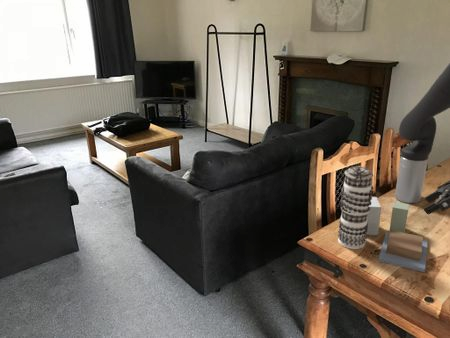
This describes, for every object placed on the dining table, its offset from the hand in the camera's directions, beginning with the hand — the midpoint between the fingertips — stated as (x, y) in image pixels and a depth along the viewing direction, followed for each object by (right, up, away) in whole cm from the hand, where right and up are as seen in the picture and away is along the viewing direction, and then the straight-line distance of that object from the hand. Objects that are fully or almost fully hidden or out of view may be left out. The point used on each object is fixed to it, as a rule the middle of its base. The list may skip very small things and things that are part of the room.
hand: (426, 205), depth 115 cm
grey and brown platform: (-10, -13, -5) cm, 17 cm away
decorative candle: (-23, -12, +1) cm, 26 cm away
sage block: (-6, -9, +7) cm, 13 cm away
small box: (-16, -9, +8) cm, 20 cm away
